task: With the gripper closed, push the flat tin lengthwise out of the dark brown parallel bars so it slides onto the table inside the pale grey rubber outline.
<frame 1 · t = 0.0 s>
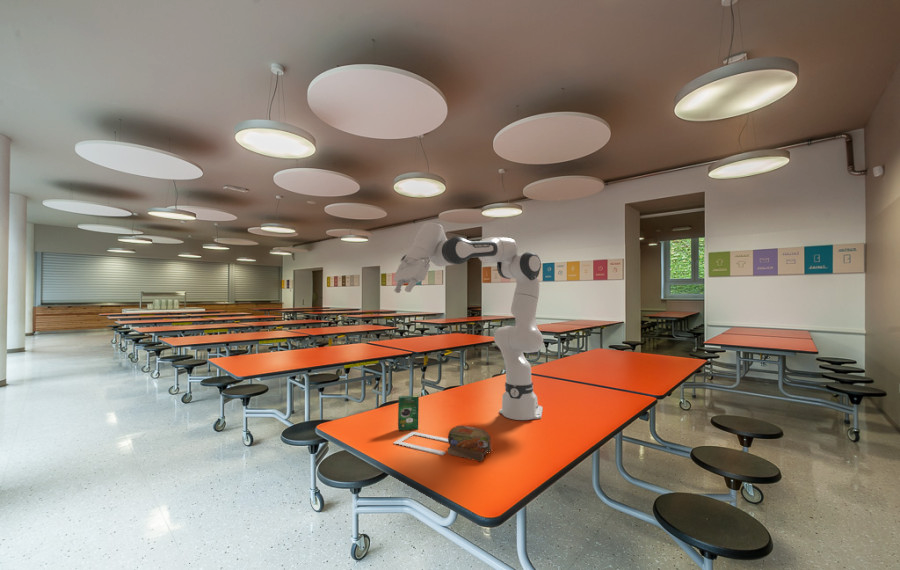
hand: (401, 291, 125), 54 cm above the table, tool tilted 30°, fingers open, 8 cm apart
tin: (469, 453, 115), on the table
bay: (427, 443, 123), on the table
dark brown parallel bars: (469, 452, 115), on the table
coffee box: (408, 429, 137), on the table
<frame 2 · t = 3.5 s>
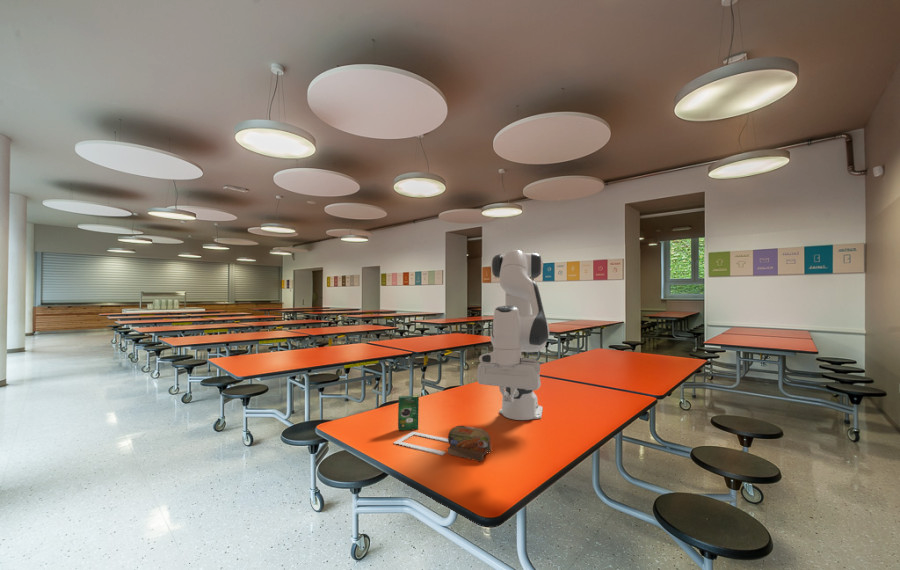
hand: (508, 401, 109), 19 cm above the table, tool pointing down, fingers closed
nothing on the table moved.
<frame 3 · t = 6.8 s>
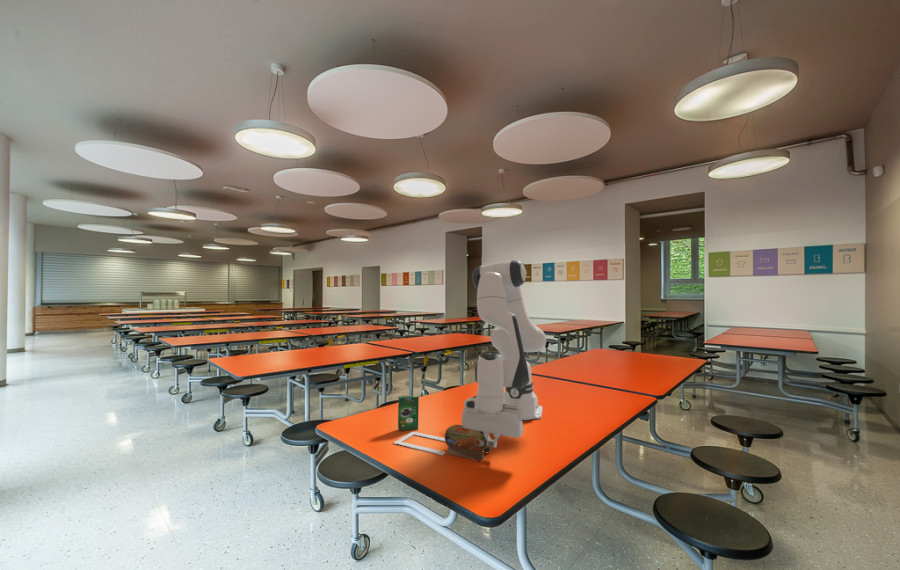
hand: (492, 446, 111), 4 cm above the table, tool pointing down, fingers closed
tin: (466, 452, 116), on the table, touching gripper
everything else where it was.
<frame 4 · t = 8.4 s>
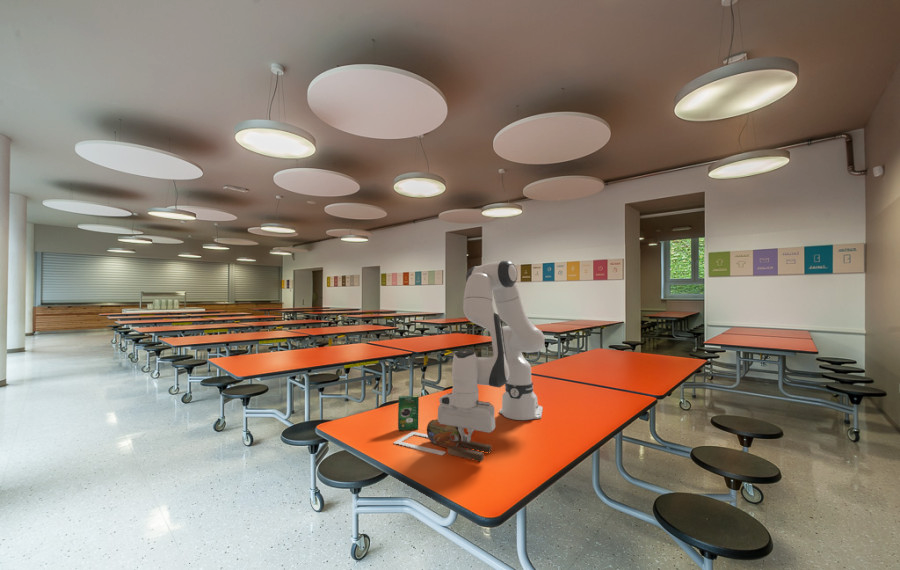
hand: (466, 440, 116), 4 cm above the table, tool pointing down, fingers closed
tin: (444, 446, 121), on the table, touching gripper
everything else where it was.
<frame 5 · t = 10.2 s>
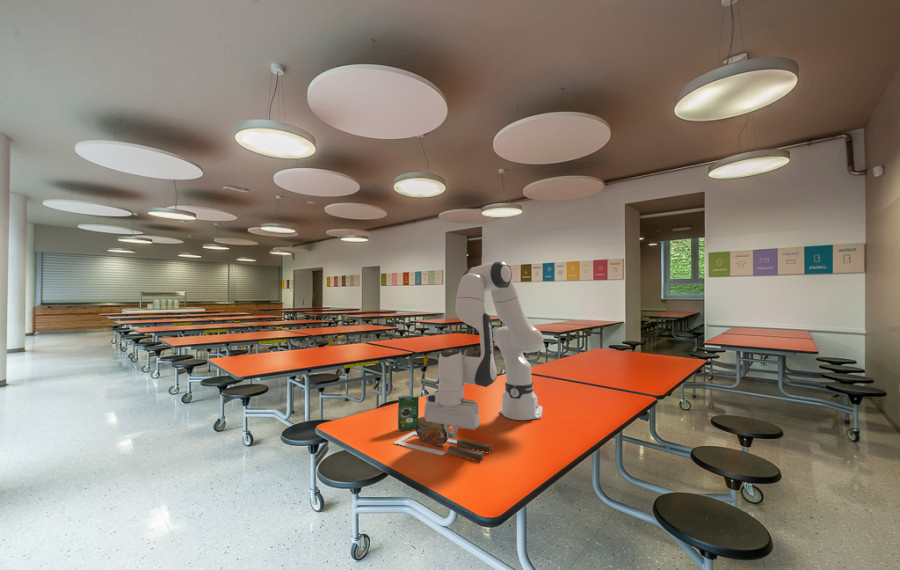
hand: (451, 438, 119), 4 cm above the table, tool pointing down, fingers closed
tin: (432, 442, 124), on the table, touching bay, gripper
everything else where it was.
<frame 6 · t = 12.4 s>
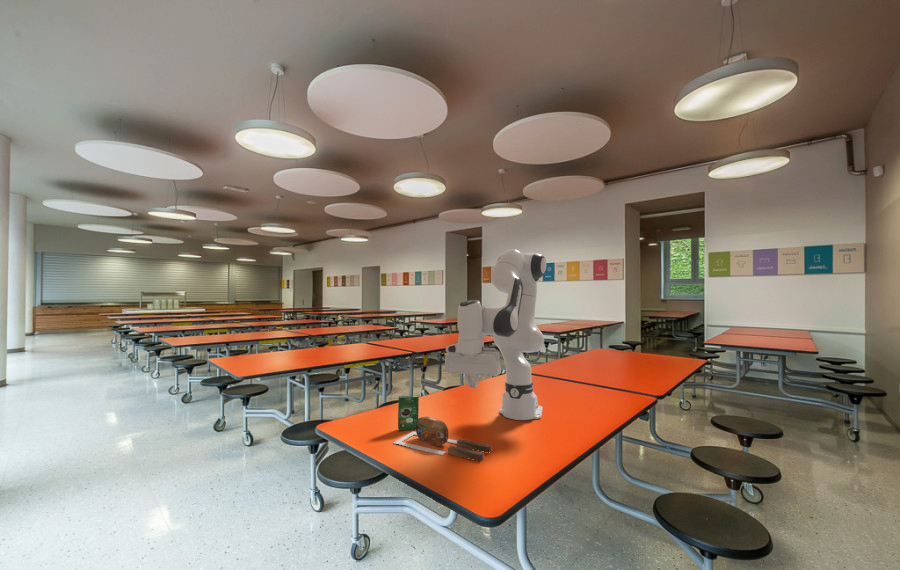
hand: (473, 387, 119), 21 cm above the table, tool pointing down, fingers closed
tin: (432, 443, 124), on the table
everything else where it was.
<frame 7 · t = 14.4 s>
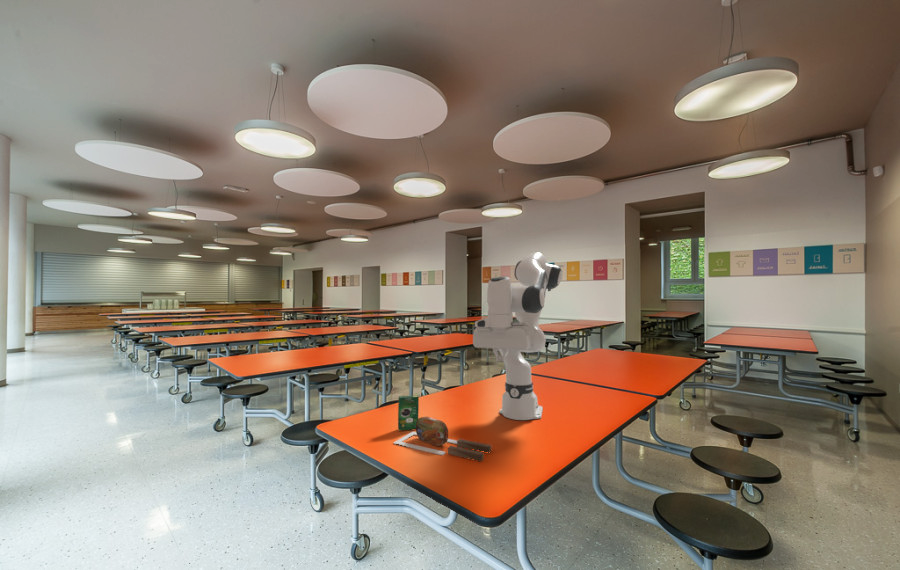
hand: (501, 361, 121), 29 cm above the table, tool pointing down, fingers closed
nothing on the table moved.
at the end: tin inside the target area on the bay (1.8 cm from its centre), point 0.0 cm above the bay's base; tin tilted 0°; tin touching table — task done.
